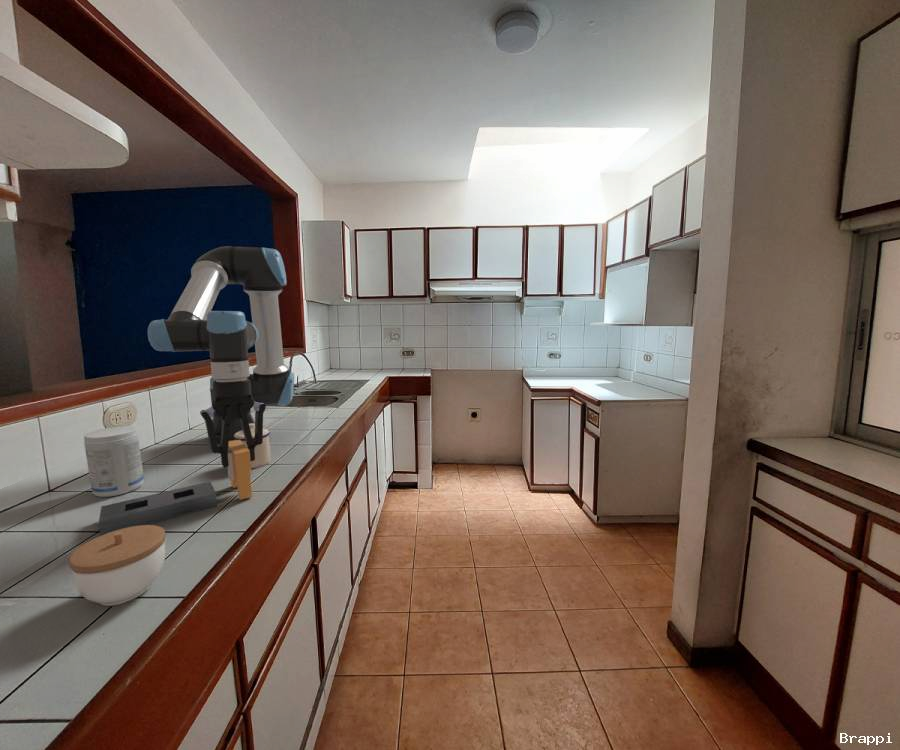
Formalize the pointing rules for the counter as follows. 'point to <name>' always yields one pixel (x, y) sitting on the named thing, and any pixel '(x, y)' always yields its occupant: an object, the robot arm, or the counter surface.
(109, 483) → the supplement tub
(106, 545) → the lidded jar
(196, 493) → the graphite rail
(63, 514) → the counter surface
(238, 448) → the orange clip
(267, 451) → the teacup with lid
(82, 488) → the counter surface
